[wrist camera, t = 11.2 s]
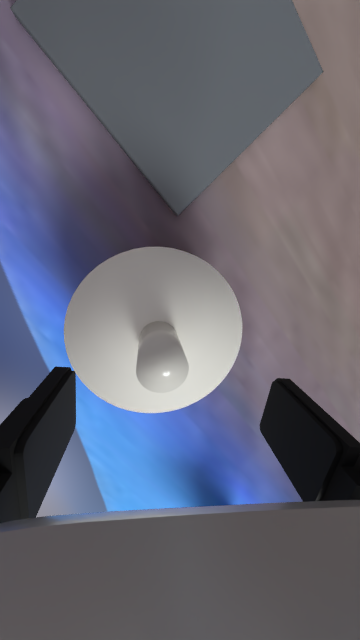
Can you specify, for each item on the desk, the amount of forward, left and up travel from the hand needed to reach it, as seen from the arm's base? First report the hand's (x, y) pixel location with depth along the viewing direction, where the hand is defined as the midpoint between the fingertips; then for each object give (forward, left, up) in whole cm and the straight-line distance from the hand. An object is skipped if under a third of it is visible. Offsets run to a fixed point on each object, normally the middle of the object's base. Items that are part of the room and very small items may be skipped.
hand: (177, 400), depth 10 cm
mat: (-17, -15, -15) cm, 27 cm away
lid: (0, 0, -9) cm, 9 cm away
